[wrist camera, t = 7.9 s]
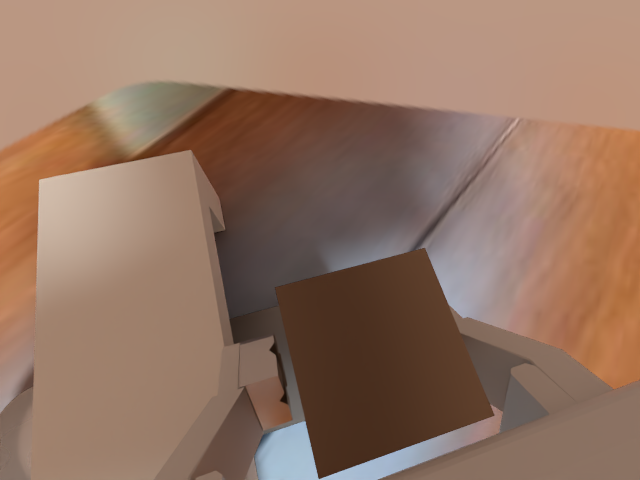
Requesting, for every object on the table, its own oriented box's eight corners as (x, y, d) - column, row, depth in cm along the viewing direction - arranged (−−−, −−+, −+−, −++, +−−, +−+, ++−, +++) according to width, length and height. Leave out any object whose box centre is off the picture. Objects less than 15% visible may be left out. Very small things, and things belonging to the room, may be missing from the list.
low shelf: (219, 198, 17) (191, 149, 13) (319, 714, 10) (330, 971, 6) (109, 223, 16) (39, 179, 12) (141, 800, 10) (11, 1165, 5)
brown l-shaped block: (345, 290, 15) (406, 203, 6) (376, 392, 14) (524, 487, 4) (114, 353, 14) (-280, 367, 5) (120, 476, 12) (-469, 889, 3)
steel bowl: (114, 364, 14) (91, 367, 12) (123, 460, 13) (99, 476, 11) (22, 394, 13) (-14, 401, 12) (21, 497, 12) (-19, 519, 11)
